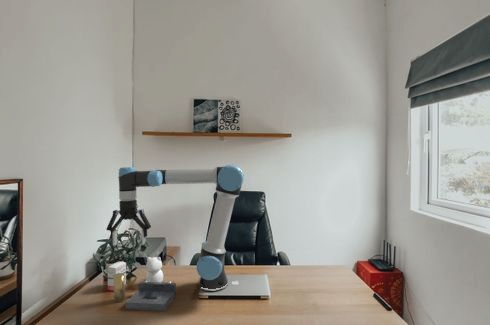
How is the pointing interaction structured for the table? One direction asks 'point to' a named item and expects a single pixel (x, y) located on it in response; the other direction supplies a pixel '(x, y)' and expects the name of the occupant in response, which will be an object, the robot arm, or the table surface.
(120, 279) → the sleeve
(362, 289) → the table surface
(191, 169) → the robot arm
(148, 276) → the cat figurine
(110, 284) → the ink box
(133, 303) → the jig
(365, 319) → the table surface
